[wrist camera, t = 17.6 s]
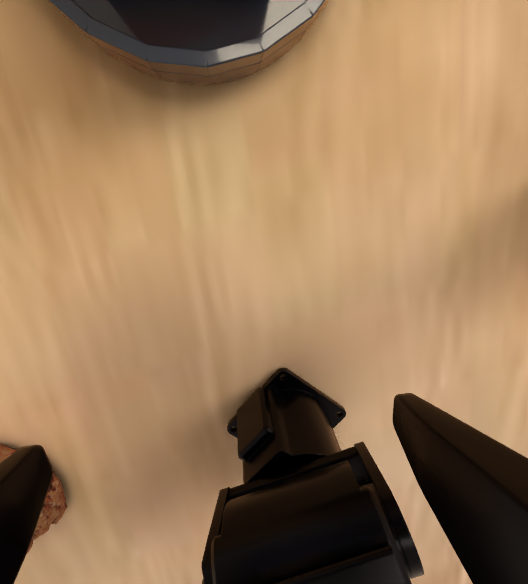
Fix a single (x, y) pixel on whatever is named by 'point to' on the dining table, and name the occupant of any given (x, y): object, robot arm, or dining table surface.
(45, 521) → the cookie
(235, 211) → the dining table surface
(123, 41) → the dish
